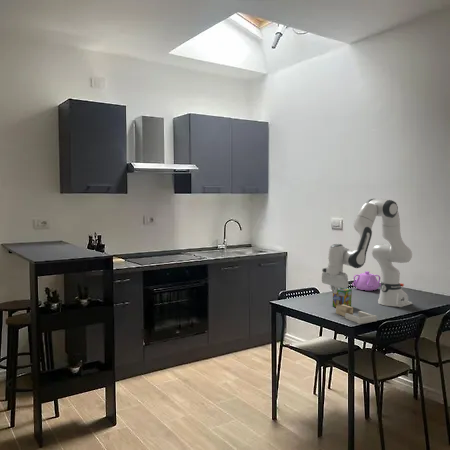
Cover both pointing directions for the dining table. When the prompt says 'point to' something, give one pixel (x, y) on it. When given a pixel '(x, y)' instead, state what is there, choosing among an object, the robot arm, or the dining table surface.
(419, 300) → the dining table surface
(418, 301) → the dining table surface
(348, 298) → the chalk box
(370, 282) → the teapot
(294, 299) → the dining table surface
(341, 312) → the cart block
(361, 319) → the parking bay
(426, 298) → the dining table surface
